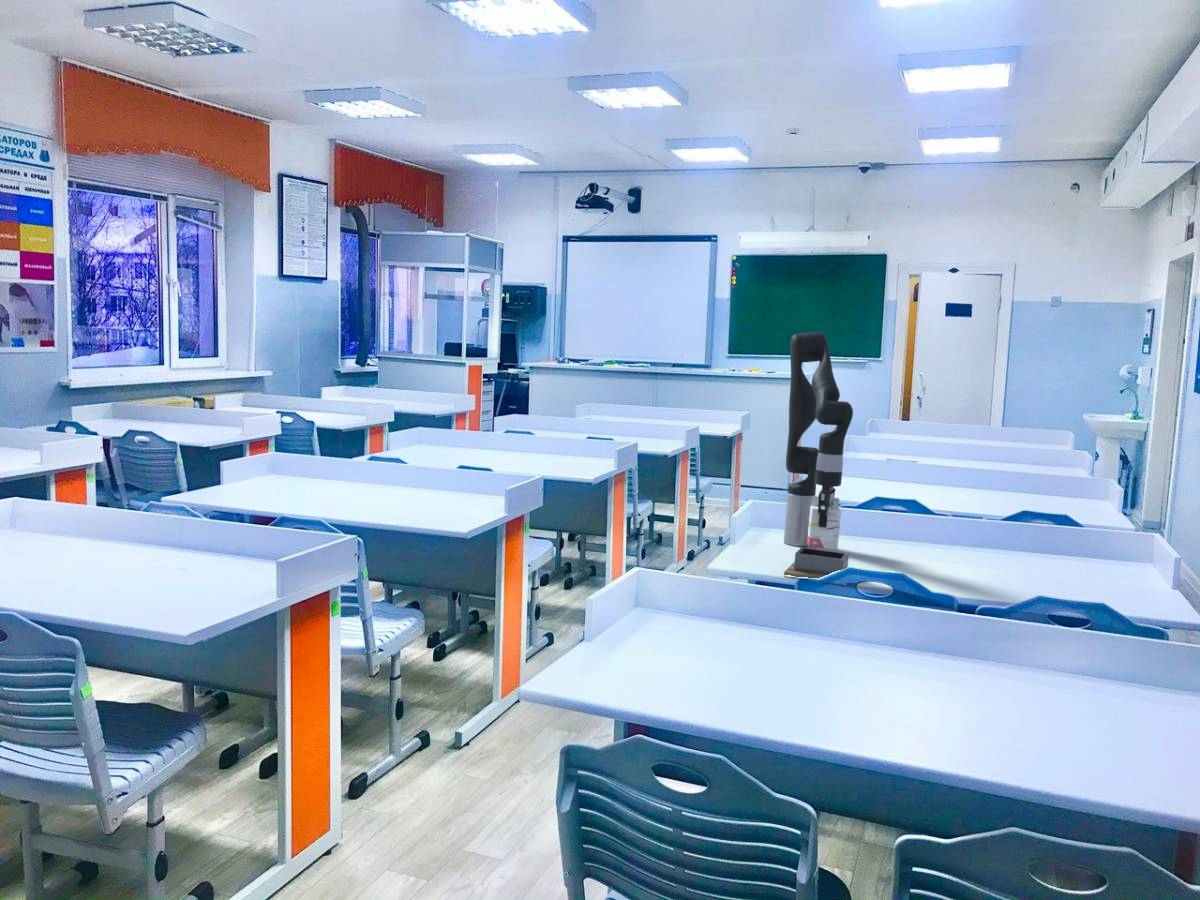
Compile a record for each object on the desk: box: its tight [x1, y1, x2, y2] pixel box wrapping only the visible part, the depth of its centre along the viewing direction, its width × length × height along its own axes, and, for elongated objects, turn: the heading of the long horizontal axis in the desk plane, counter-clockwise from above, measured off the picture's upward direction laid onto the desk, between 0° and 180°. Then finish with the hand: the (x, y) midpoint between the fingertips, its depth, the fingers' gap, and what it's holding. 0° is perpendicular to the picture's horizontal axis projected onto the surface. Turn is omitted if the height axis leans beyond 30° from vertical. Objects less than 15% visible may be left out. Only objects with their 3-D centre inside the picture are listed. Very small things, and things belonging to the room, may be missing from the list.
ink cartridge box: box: [807, 495, 842, 550], centre depth 287 cm, size 9×5×15 cm, turn 84°
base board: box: [783, 561, 825, 578], centre depth 289 cm, size 18×18×2 cm
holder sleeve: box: [793, 546, 850, 575], centre depth 288 cm, size 10×14×5 cm
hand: (824, 525), depth 287 cm, fingers closed on ink cartridge box, 5 cm apart
